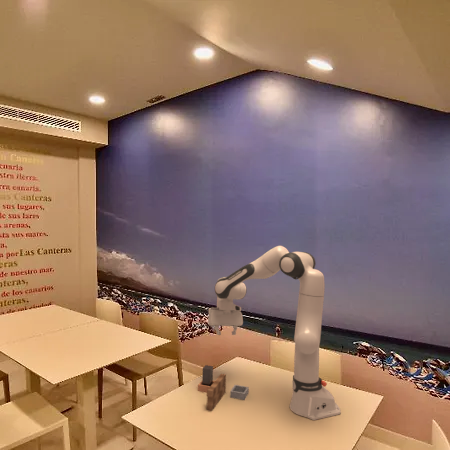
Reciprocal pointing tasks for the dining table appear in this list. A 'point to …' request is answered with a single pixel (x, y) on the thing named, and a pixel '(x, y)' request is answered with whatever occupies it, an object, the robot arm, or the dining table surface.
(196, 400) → the dining table surface
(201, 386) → the frame
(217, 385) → the door panel
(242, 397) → the frame
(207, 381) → the bar
